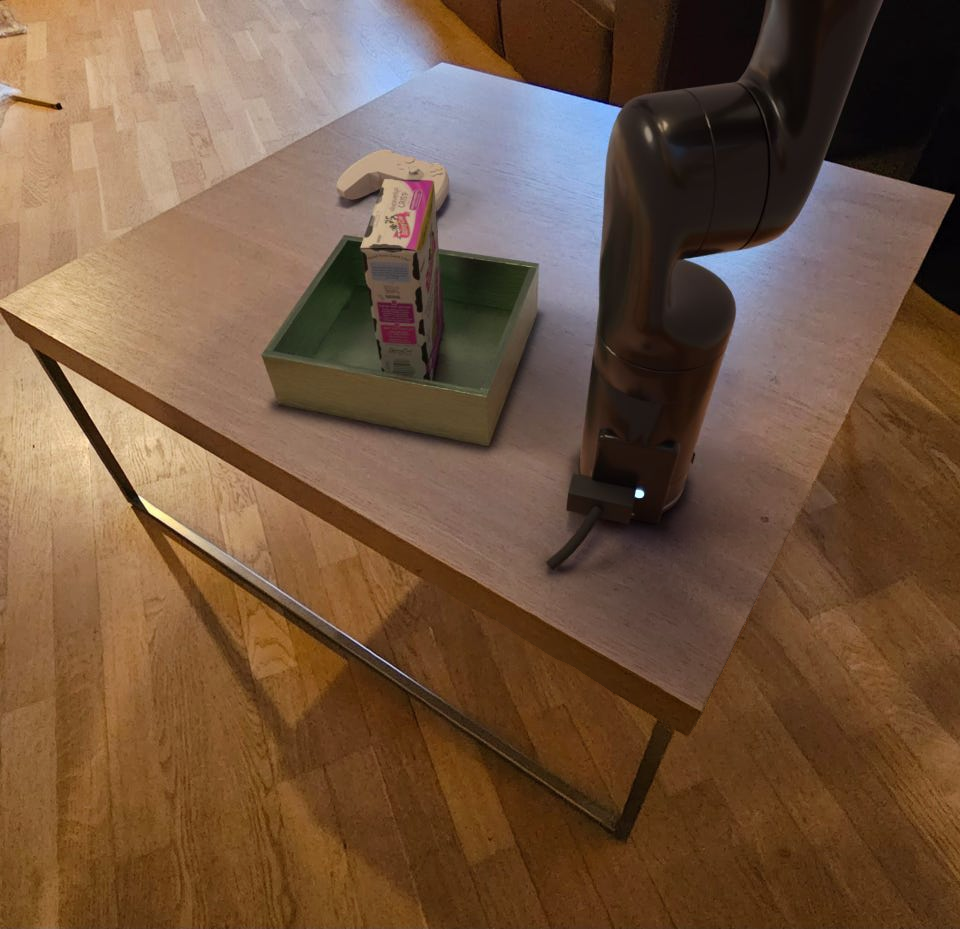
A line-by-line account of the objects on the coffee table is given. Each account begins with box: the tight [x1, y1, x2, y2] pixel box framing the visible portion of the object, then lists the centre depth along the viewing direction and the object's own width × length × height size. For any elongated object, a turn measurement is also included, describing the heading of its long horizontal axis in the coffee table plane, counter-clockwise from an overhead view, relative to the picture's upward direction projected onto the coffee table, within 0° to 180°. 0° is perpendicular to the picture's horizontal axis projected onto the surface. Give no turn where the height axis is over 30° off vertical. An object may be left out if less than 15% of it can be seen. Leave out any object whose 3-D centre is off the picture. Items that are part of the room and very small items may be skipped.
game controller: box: [335, 149, 450, 213], centre depth 92 cm, size 14×4×10 cm
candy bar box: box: [360, 179, 444, 380], centre depth 68 cm, size 11×5×16 cm, turn 175°
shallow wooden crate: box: [260, 234, 540, 447], centre depth 72 cm, size 20×22×7 cm
